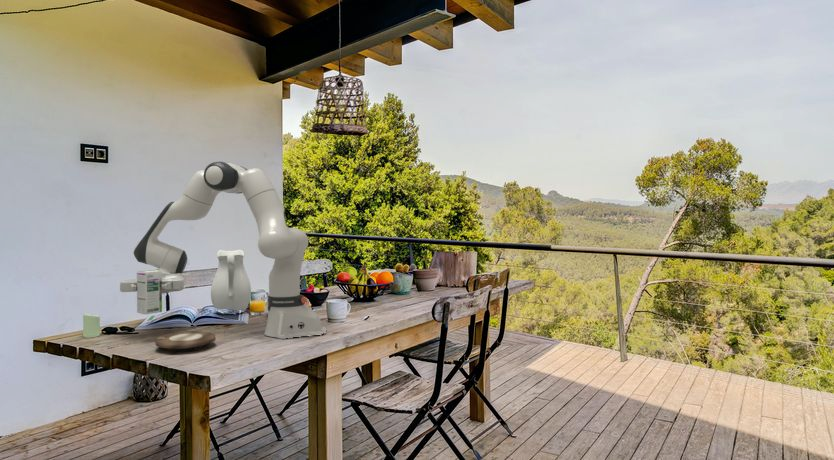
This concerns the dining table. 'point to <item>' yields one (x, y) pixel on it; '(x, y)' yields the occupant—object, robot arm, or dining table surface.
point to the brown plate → (185, 339)
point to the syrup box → (149, 291)
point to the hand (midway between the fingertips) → (148, 287)
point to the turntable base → (185, 348)
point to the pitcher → (230, 282)
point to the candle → (91, 326)
